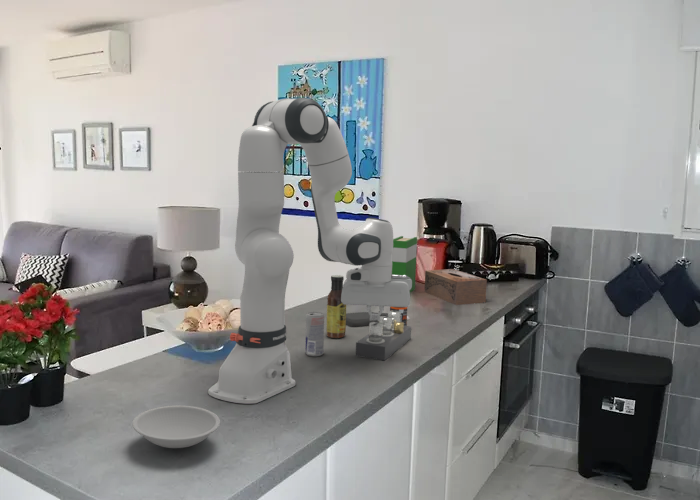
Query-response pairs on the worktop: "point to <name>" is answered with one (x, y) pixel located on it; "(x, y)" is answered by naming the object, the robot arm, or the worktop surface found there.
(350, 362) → the worktop surface
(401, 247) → the hardback book
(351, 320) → the spray bottle
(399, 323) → the brass dome cylinder
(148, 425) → the dish
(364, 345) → the mount
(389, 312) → the knob far
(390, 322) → the knob mid
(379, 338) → the knob near
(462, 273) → the tissue box cover
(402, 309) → the supplement bottle
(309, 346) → the energy drink
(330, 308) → the sauce bottle
